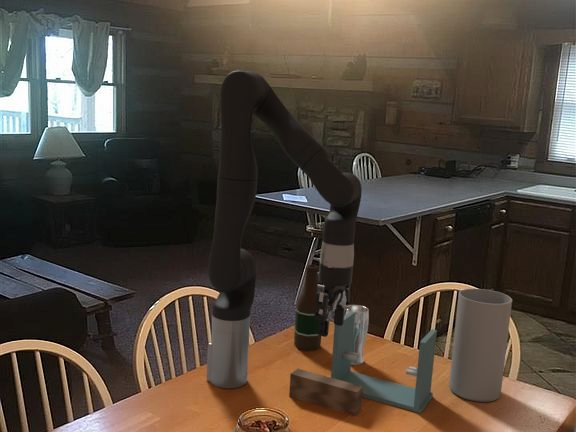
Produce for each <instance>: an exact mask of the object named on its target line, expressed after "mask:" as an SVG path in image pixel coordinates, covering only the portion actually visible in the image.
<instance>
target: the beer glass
mask: <svg viewBox="0 0 576 432" xmlns="http://www.w3.org/2000/svg"><path fill="white" fill-rule="evenodd" d="M349 312H355V318H354V331H353V344H352V352H354V353H358V354H360V357H359V359H358V358H357V360H356V361H353V360H351V366H359V365H362V364H363V363H364V359H365V358H364V348H365V342H366V339H367V336H368V335H367V334H368V332H369V331H368V330H369V322H370V320H369V317H370V316H369V312H370V310H369V308H368V307H366V306H364V305H359V304H349V305H346V310H345V311H344V316H345V315H346V314H348V313H349Z"/></svg>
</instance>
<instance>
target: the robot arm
mask: <svg viewBox="0 0 576 432" xmlns="http://www.w3.org/2000/svg"><path fill="white" fill-rule="evenodd" d="M219 96H220V97H219V98H220V127H221V128H220V129H221V130H220V145H219V146H220V147H219V160H218V161H219V163H218V171H217V180H216V181H217V184H216V185H217V186H216V201H215V202H216V203H215V212H214V213H215V216H214V228H213V235H212V236H213V237H212V242H211V247H210V253H209V258H208V266H207V275H208V280H209V282H210V285H212V287H213V288H214V289H215V290H216V291H218V292H219V294H218V296H217V298H216V299H215V300H214V302H213V303H212V308H211V309H212V310H211V311H212V312H211V338H210V342H209V343H207V353H206V354H207V356H206V357H207V359H206V360H207V362H206V381H208V382H210V383H211V384H212V386H215V387H217V388H220V389H221V388H222V389H236V388H240V387H243V386H245V384H247V383H248V370H249V369H248V368H249V367H248V366H249V347H250V325H251V323H250V322H251V310H252V307H253V304H254V299H255V291H256V281H257V280H256V278H257V267H256V266H257V265H256V261H255V258H254V257H253V255H252V254H251V253H250V252H249V251H247V250H246V249H244V248H242V242H243V241H242V240H243V234H244V230H245V228H246V226H247V223H248V221H249V218H250V216H251V214H252V211H253V209H254V205H255V202H256V198H257V191H258V188H257V187H258V174H259V171H258V162H257V158H256V156H255V152H254V151H255V150H254V147H253V143H252V142H253V141H252V124H253V116H254V117H256V118H257V119H258V120H259V121H261V122H262V123H263V124H265V126H267V128H268V129H269V131H271V133H272V134H273V135H274V137H275V138H276V140H277V142H278V144H279V145H280V148H282V150H283V151H284V153H285V154H286V156H287V157H288V158H289V159H290V160H291V161H292V162H293V163H294V164H295V165H296V167H298V168H299V169H300V170H301V171H302V172H303V173H304V174H305V175H306V176H307V177H308V179H309V180H310V182H311V184H312V185H313V187H314V188H315V189H316V191H317V192H318V194H319V195H320V196H321V198H322V199H324V201H326V202H327V203H328V204H329V206H330V207H329V212H328V215H327V216H326V218H325V220H324V223H323V231H322V241H321V242H322V243H321V246H320V247H321V248H320V254H319V255H320V256H319V265H318V268H319V270H318V281H319V282H320V283H321V284H323V285H324V287H323V291H322V292H319V291H318V292H317V295H316V304H315V313H314V318H315V319H319V327H318V335H320V336H321V337H324V338H326V337H327V336H329V328H330V318H331V316H332V313H334V314H333V324H334V326H335V325H339V326H342V325H343V322H344V311H345V310H346V306H348V305H350V302H351V301H350V300H351V286H352V281H353V271H354V258H355V248H354V247H355V237H356V236H355V235H356V221H357V218H358V214H359V209H360V206H361V199H362V191H363V190H362V184H361V183H362V182H361V181H360V179H359V177H358V176H356V175H355V174H354V173H352V172H341V171H340V169H339V168H338V167H337V166H336V165H335V164H334V163H333V159H332V155H331V154H330V152H328V150H327V149H325V148H324V146H322V144H321V143H320V142H319V141H318V140H317V139H316V138H315V137H314V136H313V135H312V134H311V133H310V132H308V131H307V129H305V127H304V126H303V125H302V124H301V123H300V122H299V121H298V120H297V119H296V118H295V117H294V116H293V114H292V113H291V112H290V111H289V109H287V108H286V106H285V105H284V103H283V102H282V101H281V99H280V97H278V95H277V93H276V92H275V91H274V89H273V88H272V86H271V85H270V83H268V81H267V80H266V78H264V76H262V75H261V74H259V73H257V72H254V71H248V70H234V71H233V70H232V71H231V72H230V73H228V74H227V75H226V76H225V77H224V79H223V81H222V83H221V88H220V95H219ZM319 309H320V311H319Z"/></svg>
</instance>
